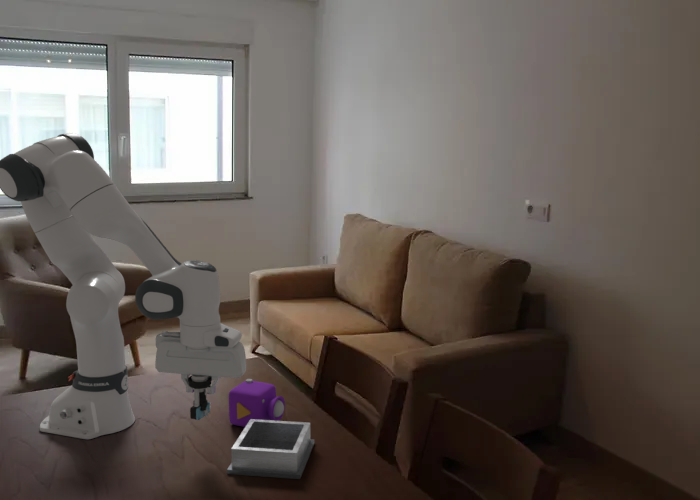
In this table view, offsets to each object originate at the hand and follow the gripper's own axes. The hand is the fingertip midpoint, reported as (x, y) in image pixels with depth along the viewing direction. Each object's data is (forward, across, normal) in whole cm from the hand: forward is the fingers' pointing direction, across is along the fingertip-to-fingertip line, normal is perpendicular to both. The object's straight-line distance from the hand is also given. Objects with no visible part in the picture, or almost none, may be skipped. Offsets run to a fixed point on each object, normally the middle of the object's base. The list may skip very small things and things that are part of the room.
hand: (201, 392), depth 156 cm
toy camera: (+15, +9, +18) cm, 25 cm away
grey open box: (+14, +17, 0) cm, 22 cm away
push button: (+6, 0, 0) cm, 6 cm away
